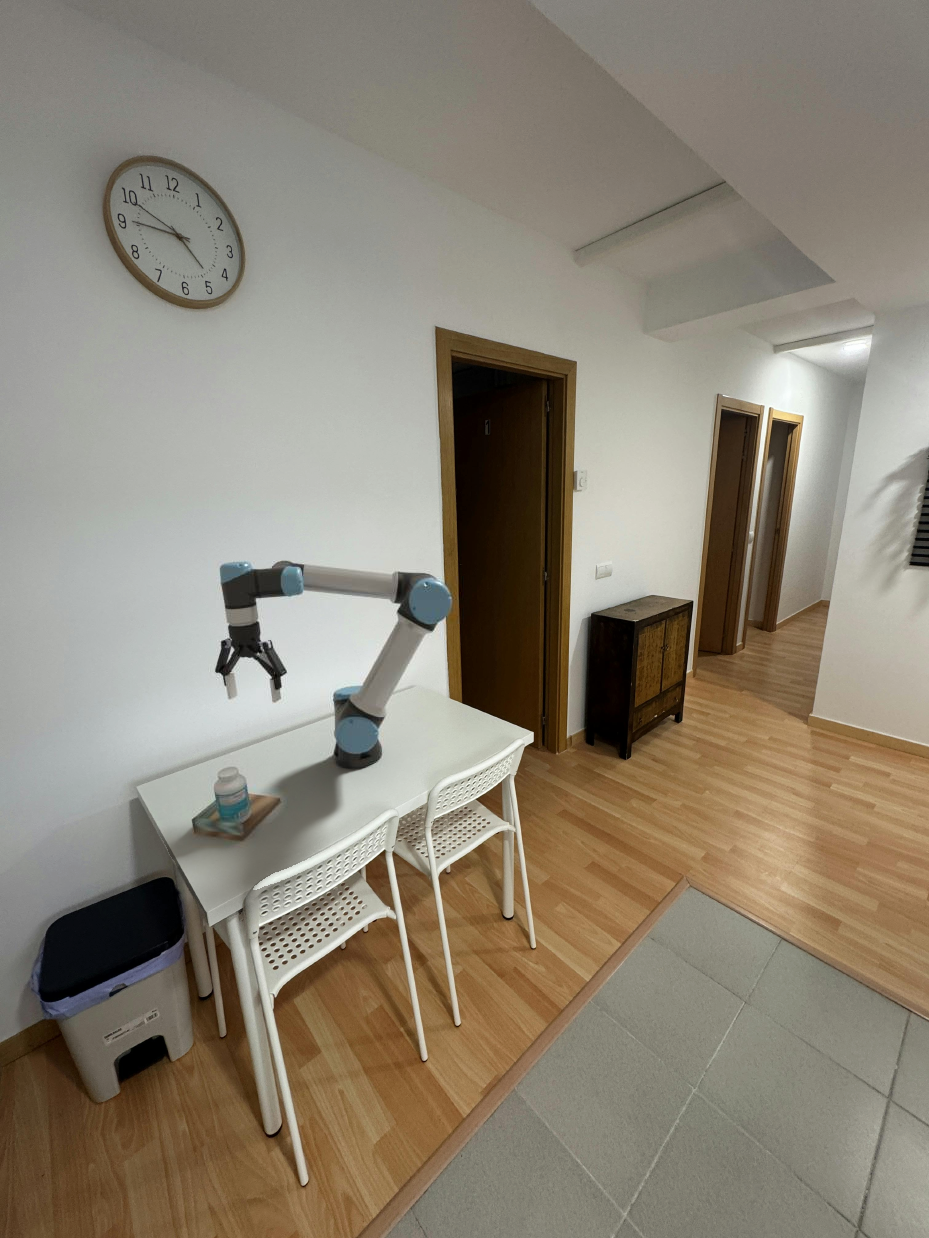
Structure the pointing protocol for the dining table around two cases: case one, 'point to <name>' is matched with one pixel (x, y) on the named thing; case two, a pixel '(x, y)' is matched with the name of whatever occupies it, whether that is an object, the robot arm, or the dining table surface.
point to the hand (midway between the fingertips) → (254, 699)
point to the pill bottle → (232, 796)
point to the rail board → (212, 825)
